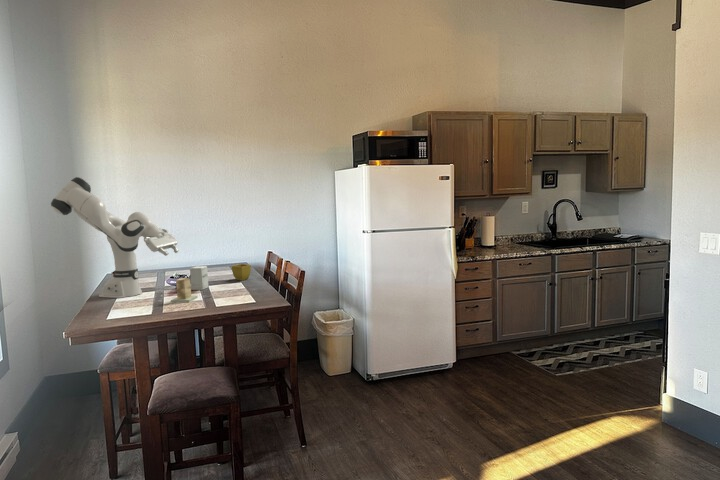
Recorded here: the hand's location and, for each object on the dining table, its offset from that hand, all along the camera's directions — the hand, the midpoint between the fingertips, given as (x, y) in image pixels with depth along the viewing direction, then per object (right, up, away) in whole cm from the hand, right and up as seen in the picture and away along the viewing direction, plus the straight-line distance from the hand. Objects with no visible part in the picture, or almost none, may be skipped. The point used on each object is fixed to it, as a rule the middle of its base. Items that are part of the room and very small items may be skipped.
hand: (172, 253), depth 287 cm
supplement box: (+7, -21, +25) cm, 34 cm away
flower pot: (+26, -18, +49) cm, 58 cm away
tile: (+7, -24, -3) cm, 26 cm away
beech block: (+8, -23, -3) cm, 25 cm away
